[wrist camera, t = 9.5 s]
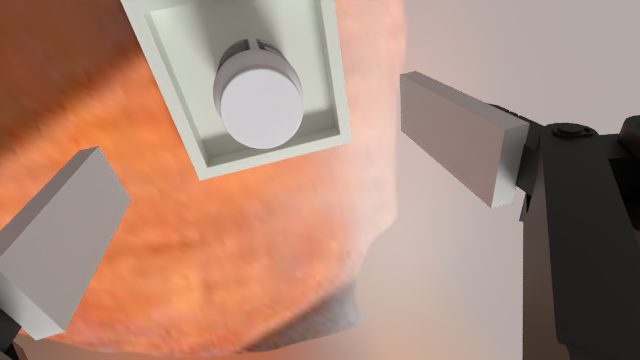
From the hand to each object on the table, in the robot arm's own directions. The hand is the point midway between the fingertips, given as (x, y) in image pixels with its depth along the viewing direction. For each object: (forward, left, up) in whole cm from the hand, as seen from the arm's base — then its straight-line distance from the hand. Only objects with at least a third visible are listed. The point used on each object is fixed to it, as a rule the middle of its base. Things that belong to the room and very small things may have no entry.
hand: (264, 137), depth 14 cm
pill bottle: (0, 0, -14) cm, 14 cm away
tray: (0, 0, -15) cm, 15 cm away
